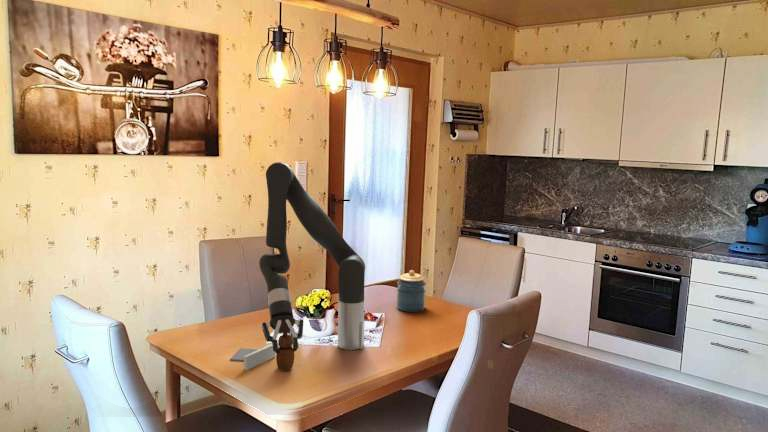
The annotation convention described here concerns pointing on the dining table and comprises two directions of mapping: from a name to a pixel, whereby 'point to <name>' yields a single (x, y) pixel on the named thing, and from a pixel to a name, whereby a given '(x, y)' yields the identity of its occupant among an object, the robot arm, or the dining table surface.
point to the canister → (411, 292)
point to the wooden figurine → (285, 351)
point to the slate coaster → (241, 354)
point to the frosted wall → (258, 357)
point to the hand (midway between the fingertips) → (286, 351)
